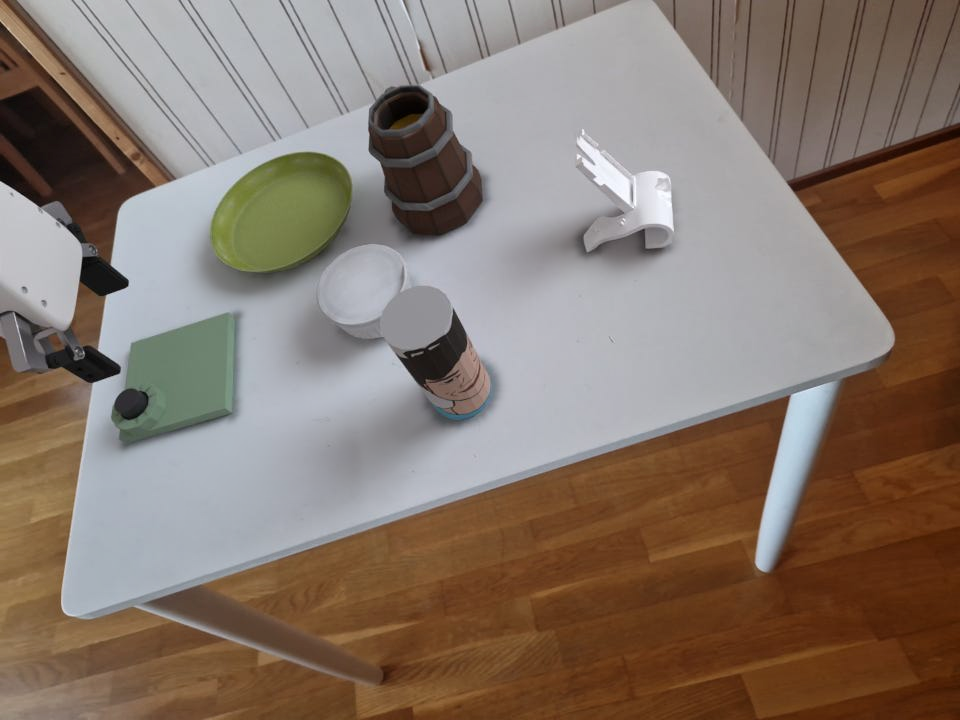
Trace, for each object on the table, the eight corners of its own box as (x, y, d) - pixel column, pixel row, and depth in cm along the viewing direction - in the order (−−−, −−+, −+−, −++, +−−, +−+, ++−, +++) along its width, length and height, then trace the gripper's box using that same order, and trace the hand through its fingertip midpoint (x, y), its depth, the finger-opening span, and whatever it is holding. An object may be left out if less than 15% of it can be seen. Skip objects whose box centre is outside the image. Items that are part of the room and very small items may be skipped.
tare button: (147, 414, 78) (137, 408, 77) (123, 422, 78) (112, 415, 77) (149, 391, 80) (139, 384, 78) (126, 398, 80) (115, 392, 79)
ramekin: (404, 354, 76) (387, 330, 72) (321, 341, 80) (300, 318, 76) (434, 274, 81) (420, 246, 76) (355, 266, 85) (337, 240, 80)
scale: (232, 413, 78) (217, 402, 76) (126, 444, 80) (108, 435, 78) (235, 317, 86) (221, 304, 83) (138, 348, 88) (121, 336, 85)
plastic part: (673, 247, 74) (673, 172, 64) (583, 254, 76) (570, 183, 67) (671, 194, 77) (670, 116, 68) (584, 203, 80) (572, 129, 70)
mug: (497, 209, 83) (464, 114, 71) (410, 250, 84) (361, 163, 71) (457, 135, 92) (421, 38, 79) (377, 173, 92) (329, 83, 80)
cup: (453, 432, 70) (403, 363, 57) (420, 389, 73) (366, 316, 61) (504, 392, 70) (466, 317, 58) (469, 352, 74) (426, 272, 61)
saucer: (254, 313, 85) (240, 299, 82) (204, 224, 96) (190, 209, 94) (387, 222, 87) (378, 205, 84) (323, 145, 98) (313, 128, 95)
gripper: (-83, 141, 51) (85, 272, 66) (-148, 320, 42) (63, 426, 57) (2, 107, 50) (153, 247, 65) (-46, 282, 41) (142, 400, 56)
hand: (111, 330), depth 61 cm, fingers open, 9 cm apart
